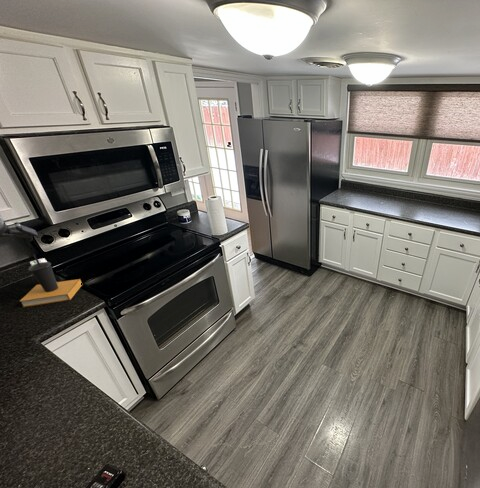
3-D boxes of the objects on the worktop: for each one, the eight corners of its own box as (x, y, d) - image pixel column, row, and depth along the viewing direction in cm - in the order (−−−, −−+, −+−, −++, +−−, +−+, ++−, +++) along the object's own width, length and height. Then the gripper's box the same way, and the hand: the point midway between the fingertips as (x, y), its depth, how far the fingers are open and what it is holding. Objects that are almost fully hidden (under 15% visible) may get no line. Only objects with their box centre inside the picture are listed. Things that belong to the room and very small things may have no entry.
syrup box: (40, 285, 141) (28, 261, 134) (55, 280, 145) (44, 257, 139) (43, 289, 138) (31, 265, 131) (58, 284, 142) (47, 260, 136)
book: (23, 307, 125) (19, 301, 123) (39, 290, 137) (36, 284, 135) (70, 299, 131) (67, 293, 129) (82, 284, 142) (80, 279, 141)
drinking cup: (47, 295, 128) (28, 259, 119) (37, 291, 130) (18, 256, 121) (65, 286, 134) (49, 252, 125) (55, 283, 136) (38, 249, 128)
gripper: (-72, 244, 79) (-44, 269, 94) (43, 223, 97) (51, 247, 112) (-82, 223, 80) (-52, 251, 95) (34, 206, 98) (44, 232, 113)
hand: (4, 249), depth 103 cm, fingers open, 13 cm apart
